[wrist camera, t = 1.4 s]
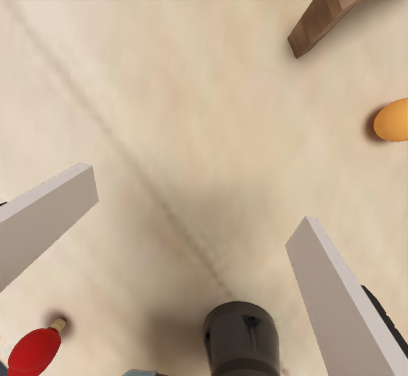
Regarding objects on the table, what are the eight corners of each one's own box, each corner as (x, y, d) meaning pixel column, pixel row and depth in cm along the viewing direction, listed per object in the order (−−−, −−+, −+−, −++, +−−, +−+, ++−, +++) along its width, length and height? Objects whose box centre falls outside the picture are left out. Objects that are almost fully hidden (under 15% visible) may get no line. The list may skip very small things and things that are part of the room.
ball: (408, 129, 26) (458, 125, 20) (370, 148, 27) (408, 149, 21) (396, 95, 25) (445, 81, 20) (357, 116, 26) (394, 109, 21)
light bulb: (75, 338, 41) (32, 398, 31) (47, 329, 41) (-5, 386, 31) (80, 309, 39) (34, 364, 29) (50, 300, 39) (-5, 351, 29)
